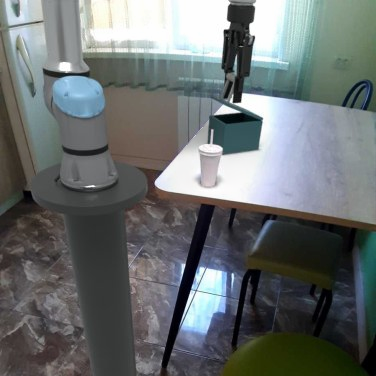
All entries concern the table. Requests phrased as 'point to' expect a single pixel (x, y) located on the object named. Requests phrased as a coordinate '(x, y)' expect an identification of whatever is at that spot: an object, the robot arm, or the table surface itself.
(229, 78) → the lid
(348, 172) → the table surface
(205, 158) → the smoothie
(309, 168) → the table surface
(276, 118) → the table surface
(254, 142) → the teal open box
